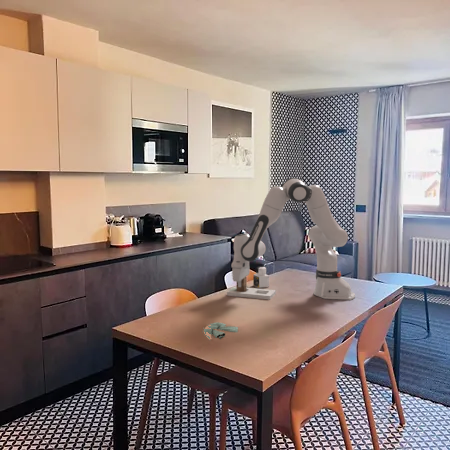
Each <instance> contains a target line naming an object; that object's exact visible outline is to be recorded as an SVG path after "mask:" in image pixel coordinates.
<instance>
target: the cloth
mask: <svg viewBox="0 0 450 450" xmlns="http://www.w3.org/2000/svg"><path fill="white" fill-rule="evenodd" d="M210 325H211V326H208V327H209V328H211V329H204V328H203V329H204V332H205V334H206V332H208V333H209V334H211V335H212V334H213V335H214V336H215V337H214V336H213V335H212V336H213V337H214V338H216V339H217V338H218V337H219V338H218V339H220V340H222V337H223V338H224V337H225V336H226V333H225V332H229V333H238V332H239V331H238V330H239V327H238V326H231V325H230V326H226V325H227V324H226V323H223V322H213V323H212V322H211V323H210ZM213 329H217V330H213ZM219 329H220V330H219ZM223 330H224V332H223ZM220 335H221V336H220ZM222 335H223V336H222ZM206 336H207V335H206ZM217 336H218V337H217ZM207 337H208V338H209V339H210V337H209V336H207Z"/></svg>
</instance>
